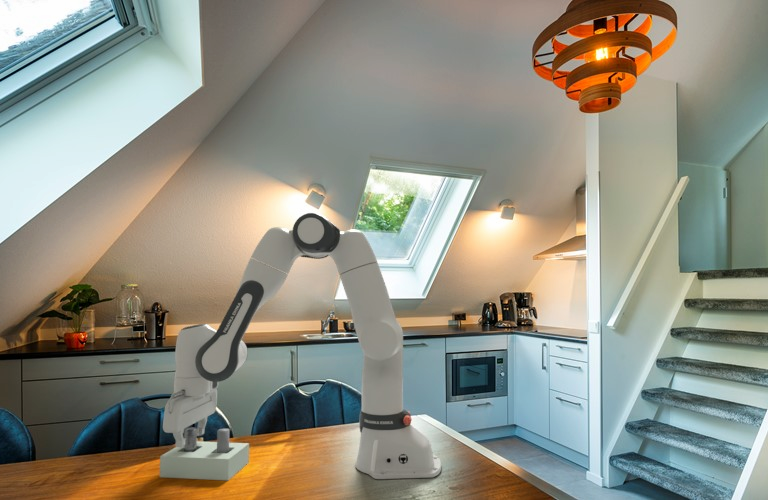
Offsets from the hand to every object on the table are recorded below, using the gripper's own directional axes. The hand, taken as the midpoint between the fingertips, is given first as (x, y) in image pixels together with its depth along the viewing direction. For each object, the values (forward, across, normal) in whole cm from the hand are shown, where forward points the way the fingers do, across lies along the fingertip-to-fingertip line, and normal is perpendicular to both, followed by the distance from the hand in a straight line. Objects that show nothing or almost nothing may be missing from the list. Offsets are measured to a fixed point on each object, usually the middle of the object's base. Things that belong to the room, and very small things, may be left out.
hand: (190, 440), depth 121 cm
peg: (+7, 0, 0) cm, 7 cm away
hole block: (+7, 0, -4) cm, 8 cm away
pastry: (+8, +12, +7) cm, 16 cm away
